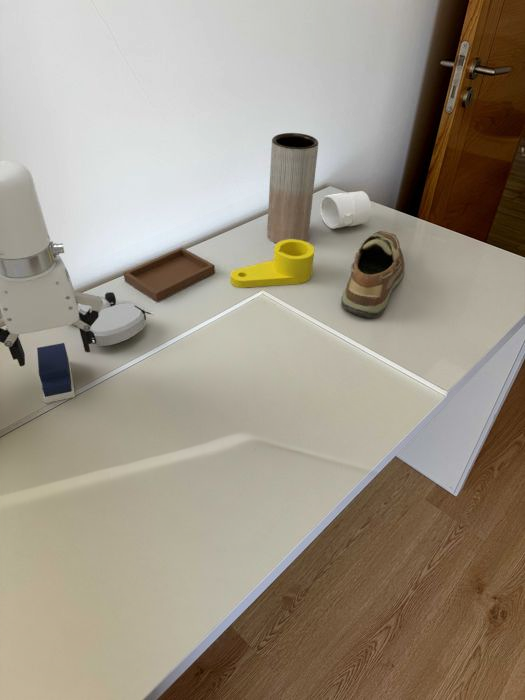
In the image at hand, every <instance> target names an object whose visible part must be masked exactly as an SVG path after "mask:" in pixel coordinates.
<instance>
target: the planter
mask: <svg viewBox="0 0 525 700" xmlns="http://www.w3.org/2000/svg"><path fill="white" fill-rule="evenodd" d="M270 149H271V150H270V169H269V170H270V171H269V187H268V188H269V189H268V190H269V191H268V209H267V226H266V227H267V229H266V231H267V232H266V233H267V234H266V236H267V238H268V239H269V240H270V241H271V242H272V243H274V244H277V243H278V242H280V241H283V240H288V239H296V240H302V241H305V242H308V239H309V234H310V226H311V217H312V209H313V208H312V207H313V199H314V187H315V180H316V172H317V171H316V170H317V160H318V152H319V140H318V139H317V138H316V137H314V136H312V135H309V134H306V133H300V132H299V133H298V132H284V133H279V134H277V135H275V136H273V137H272V139H271V147H270Z"/></svg>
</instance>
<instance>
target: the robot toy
mask: <svg viewBox="0 0 525 700" xmlns="http://www.w3.org/2000/svg"><path fill="white" fill-rule="evenodd" d="M98 296H99V297H101V298H102V302H103V305H102V308H101V310H100V312H99V317H98V318H97V320H96V321H95V322H94V323H93V324H92V326H91V329H90V332H91V336H92V341H93V343H92V345H95V344H96V345H97V346H98V347H100V346H101V347H105V346H106V347H108V346H113V345H116V344H119V343H121V342H124V341H126V340H129V339H130V338H132V337H134V336H136V335H137V334H139V332H141V331H142V330H143V329H144V328H145V326H146V320H147V314H148V315H151V316H154V315H155V313H154V312H153V311H152V312H151V311H148V310H145V309H144V308H141V307H139V306H138V305H135V304H134V305H133V304H132V303H119V304H117V297H116V295H115V292H113V291H111V290H110V291H106V292H104V296H102V295H98ZM90 308H91V306H89V305H84V304H78V309H79V311H81V312H83V313H84V314H86V313H87V311H88V310H89V309H90Z"/></svg>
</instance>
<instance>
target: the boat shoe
mask: <svg viewBox="0 0 525 700" xmlns="http://www.w3.org/2000/svg"><path fill="white" fill-rule="evenodd" d="M404 274H405V260H404V255H403V251H402V249H401V245H400V241H399V239H398V237H397V236H396V234H394V233H391V232H388V231H381V230H379V231H375V232H374V233H373V234H369V236H367V237H366V238H365V239H364V240H363V242H362V243H361V244H360V246H359V248H358V250H357V252H356V253H355V256H354V260H353V262H352V264H351V272H350V276H349V278H348V281H347V284H346V288H345V289H344V290H343V292H342V296H341V306H342V308H343V309H344V310H345V311H346V312H348V313H351V314H353V315H356V316H359V317H364V318H368V319H375V318H378V317H379V316H381V314H383V312H384V311H385V308H386V306H387V304H388V301H389V298H390V295H391V293H392V291H393V290H394V289H395V288H396V287H397V286H398V285H400V283H401V281H402V279H403V278H404Z"/></svg>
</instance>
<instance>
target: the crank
mask: <svg viewBox="0 0 525 700" xmlns="http://www.w3.org/2000/svg"><path fill="white" fill-rule="evenodd" d="M314 256H315V248H314V246H313V244H311V243H310V242H308V241H302V240H296V239H288V240H283V241H280V242H278V243H275V245H274V247H273V260H269V261H264V262H261V263H260V262H259V263H257V264H253V265H249V266H244V267H240V268H237V269H234V270H232V271H231V272H230V283H231V285H232V286H233V287H236V288H240V289H245V288H260V287H273V286H274V287H275V286H289V285H300V284H304V283H306V282H308V281H309V280H310V279H311V278H312V276H313V275H312V273H313V266H314Z"/></svg>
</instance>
